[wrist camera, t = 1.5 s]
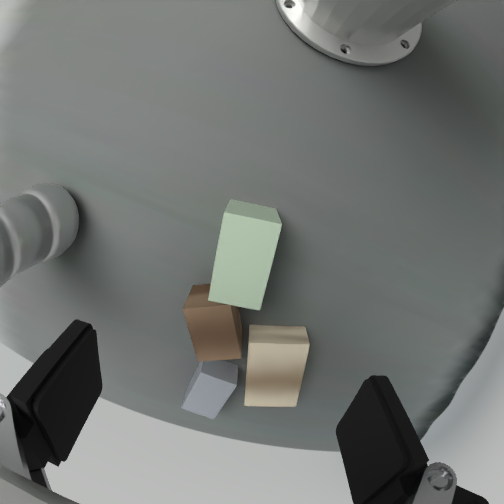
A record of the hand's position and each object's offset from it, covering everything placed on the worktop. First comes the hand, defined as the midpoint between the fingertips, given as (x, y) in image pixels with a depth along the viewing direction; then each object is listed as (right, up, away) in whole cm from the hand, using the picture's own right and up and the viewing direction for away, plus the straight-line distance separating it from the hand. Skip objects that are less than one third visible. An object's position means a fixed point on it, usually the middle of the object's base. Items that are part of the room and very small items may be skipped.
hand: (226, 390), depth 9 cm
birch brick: (+3, -6, +18) cm, 19 cm away
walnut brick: (-2, 0, +16) cm, 16 cm away
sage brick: (0, +5, +14) cm, 15 cm away
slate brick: (-3, -8, +19) cm, 21 cm away
